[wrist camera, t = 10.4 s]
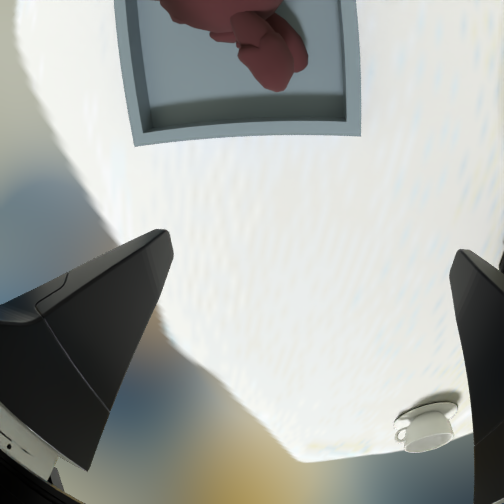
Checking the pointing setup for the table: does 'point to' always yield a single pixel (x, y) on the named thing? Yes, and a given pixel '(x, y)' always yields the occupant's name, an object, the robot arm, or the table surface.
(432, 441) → the teacup
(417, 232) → the table surface
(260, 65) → the icecream
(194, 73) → the tray
